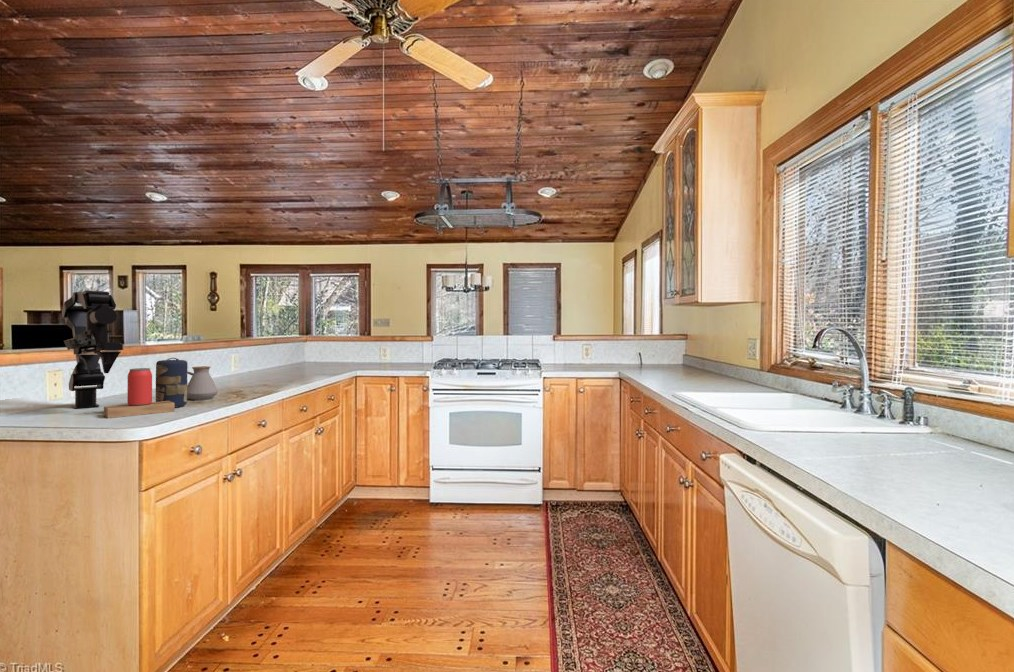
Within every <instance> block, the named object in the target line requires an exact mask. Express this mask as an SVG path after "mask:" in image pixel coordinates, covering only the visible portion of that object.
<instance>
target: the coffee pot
mask: <svg viewBox="0 0 1014 672" xmlns="http://www.w3.org/2000/svg"><path fill="white" fill-rule="evenodd" d="M191 369H192V370H193V372H190V371H188V370H187V375H190V376H191V378H190V379H189V382H188V383H187V399H189V400H191V401H205V400H211V399H213V397H215V396H216V395H217V394H218V388H217V385H215V382H214V381H213V378H212V376H211V374H210V372H209V371H210V369H211V366H192V367H191Z"/></svg>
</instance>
